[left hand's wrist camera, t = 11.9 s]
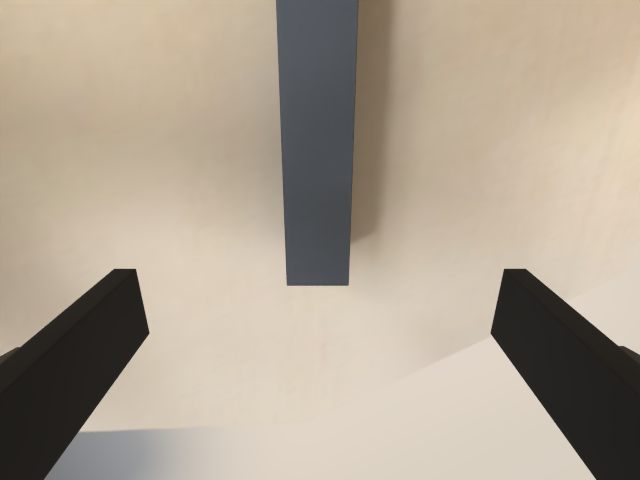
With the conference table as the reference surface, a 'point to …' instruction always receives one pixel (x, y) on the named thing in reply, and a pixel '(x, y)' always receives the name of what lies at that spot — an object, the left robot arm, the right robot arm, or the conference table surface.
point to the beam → (317, 136)
